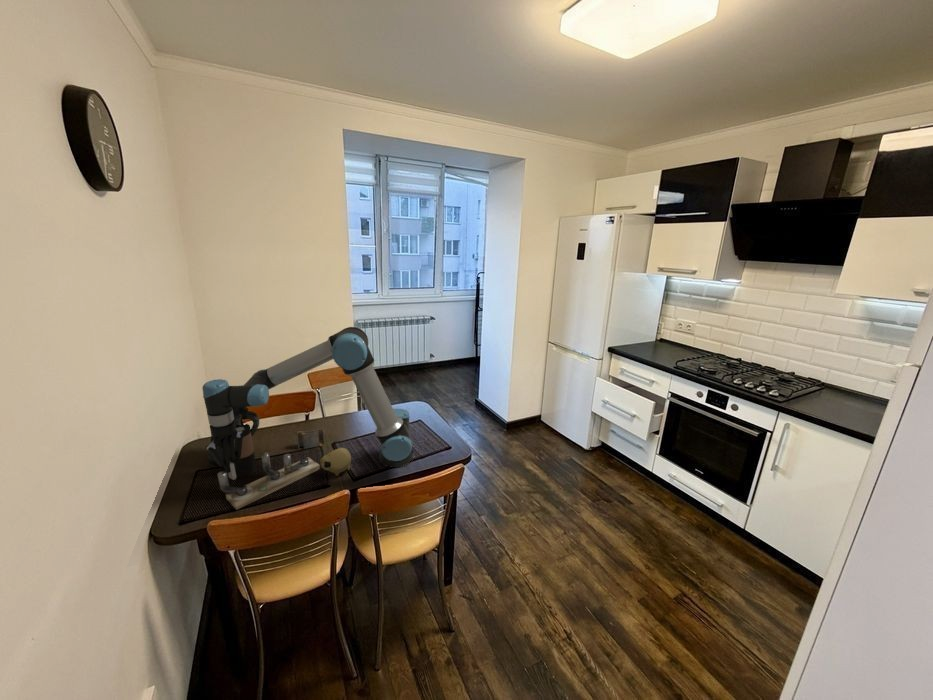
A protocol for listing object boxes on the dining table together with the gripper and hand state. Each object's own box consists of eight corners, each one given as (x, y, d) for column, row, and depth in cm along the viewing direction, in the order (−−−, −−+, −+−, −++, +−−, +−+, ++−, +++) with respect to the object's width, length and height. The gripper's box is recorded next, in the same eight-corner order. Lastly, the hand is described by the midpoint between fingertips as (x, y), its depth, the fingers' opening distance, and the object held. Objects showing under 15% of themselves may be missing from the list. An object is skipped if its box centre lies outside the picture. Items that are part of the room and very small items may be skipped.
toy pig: (318, 470, 152) (316, 448, 149) (347, 461, 158) (346, 440, 155) (325, 483, 144) (323, 459, 141) (354, 473, 151) (353, 451, 148)
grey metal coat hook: (249, 490, 134) (246, 473, 132) (243, 496, 131) (240, 478, 129) (225, 487, 136) (222, 470, 134) (218, 493, 133) (215, 475, 130)
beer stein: (204, 456, 158) (194, 404, 151) (253, 440, 172) (246, 392, 164) (215, 473, 147) (205, 418, 140) (266, 455, 161) (259, 403, 154)
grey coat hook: (306, 461, 154) (304, 445, 151) (310, 463, 152) (308, 447, 150) (283, 472, 146) (281, 455, 144) (287, 475, 144) (285, 458, 142)
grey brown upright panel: (298, 451, 166) (296, 432, 163) (298, 447, 168) (296, 428, 166) (325, 446, 170) (323, 427, 167) (324, 443, 173) (323, 424, 170)
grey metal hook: (281, 477, 143) (279, 460, 140) (273, 481, 140) (271, 464, 138) (269, 467, 148) (267, 451, 146) (261, 471, 146) (259, 454, 144)
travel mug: (241, 479, 144) (233, 434, 138) (231, 472, 148) (223, 429, 142) (260, 470, 150) (254, 427, 145) (250, 463, 154) (243, 421, 148)
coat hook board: (319, 469, 153) (319, 463, 152) (236, 509, 128) (235, 503, 127) (308, 460, 158) (307, 455, 157) (226, 498, 133) (225, 492, 133)
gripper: (233, 412, 136) (243, 465, 143) (196, 427, 125) (208, 484, 132) (246, 417, 133) (255, 471, 140) (209, 433, 122) (221, 491, 129)
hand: (232, 477), depth 136 cm, fingers closed
